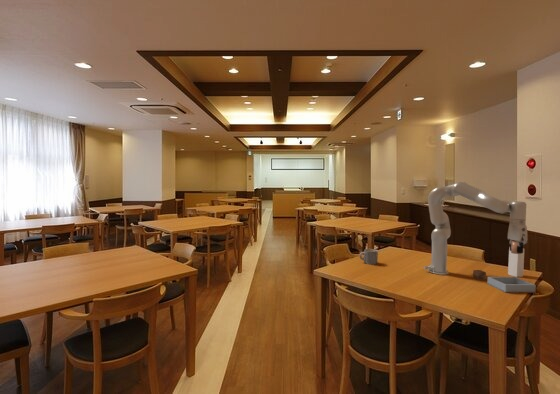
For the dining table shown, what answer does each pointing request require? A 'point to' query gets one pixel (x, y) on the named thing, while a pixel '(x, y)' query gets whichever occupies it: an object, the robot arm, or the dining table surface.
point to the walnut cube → (479, 274)
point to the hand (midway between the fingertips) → (516, 251)
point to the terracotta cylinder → (514, 247)
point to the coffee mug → (370, 256)
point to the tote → (511, 284)
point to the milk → (516, 264)
